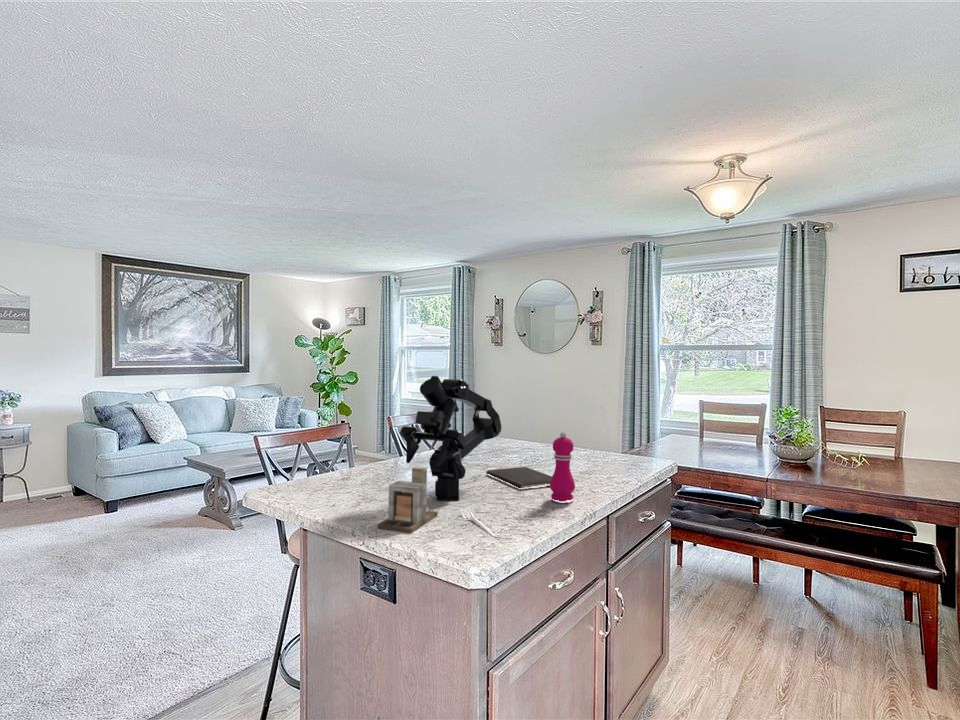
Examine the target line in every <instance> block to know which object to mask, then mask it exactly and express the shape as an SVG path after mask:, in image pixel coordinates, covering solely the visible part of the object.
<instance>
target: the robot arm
mask: <svg viewBox="0 0 960 720" xmlns="http://www.w3.org/2000/svg"><path fill="white" fill-rule="evenodd" d="M469 387H470V386H469V384H468V383H467V382H466V381H465V380H463V379H455V378H454V379H453V378H452V379H451V378H445V379H443V380H442V381H441V379H440V377H439V376H438V375H431V377H430V378H429V379H426V380H425V381H424V382H423V383H422V384H420V386H419V392H420V394H421V395H422V396H423V398H424V399H425V400H426V402H427V403H428V404H429V405H430V406H431V407H433V409H432V411H419V410H418V411H417V412H416V416H415V422H414V423H415V424H418V425H420V428H421V430H423V431H419V430H418V428H417V427H416V426H410V425H404V426H402V427H401V429H400V431H399V435H400V436H401V437H402V439H403V440H404V441H405V442H406V459H405V463H407V464H410V463H411V461H412V459H414V456H415V455H416V453H417V451H418V449H419V447H420V445H419V444H421V443H422V440H424V441H425V440H427V441H434V442H435V441H436V442H441V444H442V445H440V446H439V447H438V448H436V449H434V450H433V451H434V452H433V453H432V454H431V456H430V458H429V462H428V463H429V467H430V468H429V469H430V473H431V476H432V477H437V479H436V480H435V481H434V482H435V483H434V486H435V487H434V497H435V498H436V500H437V501H460V480H462V479H463V478H465V477H466V476H465V475H466V468H465V466H464V465H463V461H462V460H463V459H464V458H465V457H467V456H468V455H469V454H470V453H471V452H472V451H473V450H474V449H476V448H477V447H478V446H479V445H480V444H481V443H483V442H484V441H486V440H491V439H495V438H496V437H498V436H499V435H500V433H501V431H502V422H501V418H500V415H499V413H498V412H497V411H496V409H495V408H494V406H493V404H492V400H490V399H489V398H486V397H484V396H482V395H481V394H479V393H478V392H475V391H473V390H471V389H470V388H469ZM455 400H456V401H460V403H463V404H465V405H467V406H469V407H471V408H473V410H474V413H473V415H472V423H473V425H472V427H473V428H472V429H471V430H470V431H469V432H468V433H467V434H465V435H463V433H462V431H461V430H460V429H451V428H452V427H451V426H452V424H451V423H450V422H451V420H452V417H453V415H454V413H457V412H459V411H460V410H459V407H458V405H457V402H456V401H455ZM480 412H485V413H486V414H487V415H488V417H486V418H485V417H480V415H479V414H480Z"/></svg>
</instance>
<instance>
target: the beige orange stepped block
mask: <svg viewBox="0 0 960 720" xmlns="http://www.w3.org/2000/svg"><path fill="white" fill-rule="evenodd" d="M427 479H428V467H425V466H414V467H412V468H411V482H415V483H424V484H427V482H428V481H427ZM429 509H430V508H429V507H427V506H426V512H428V511H430V510H429ZM394 520H400V521H407V522H411V521H412V520H413V493H410V492H403V493H401V494H399V495H397V501H396V516H394Z"/></svg>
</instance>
